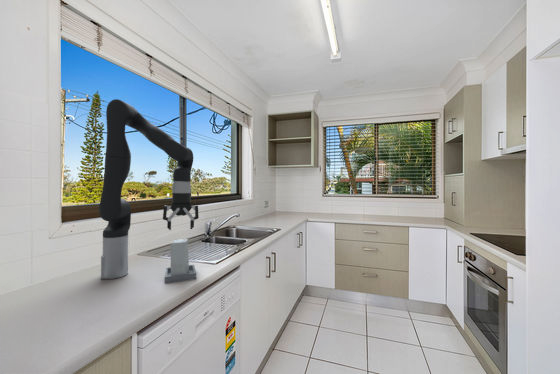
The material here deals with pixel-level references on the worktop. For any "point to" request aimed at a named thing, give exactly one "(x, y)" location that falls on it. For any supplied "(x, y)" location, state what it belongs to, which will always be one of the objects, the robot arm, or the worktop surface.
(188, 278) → the tray
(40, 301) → the worktop surface
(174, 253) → the skincare box
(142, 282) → the worktop surface
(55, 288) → the worktop surface
